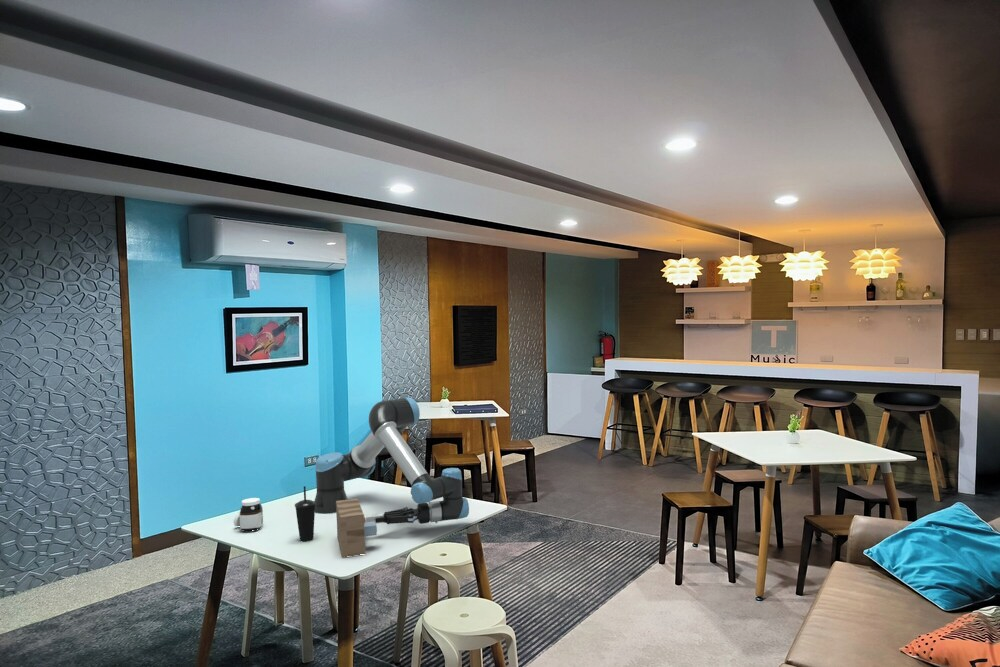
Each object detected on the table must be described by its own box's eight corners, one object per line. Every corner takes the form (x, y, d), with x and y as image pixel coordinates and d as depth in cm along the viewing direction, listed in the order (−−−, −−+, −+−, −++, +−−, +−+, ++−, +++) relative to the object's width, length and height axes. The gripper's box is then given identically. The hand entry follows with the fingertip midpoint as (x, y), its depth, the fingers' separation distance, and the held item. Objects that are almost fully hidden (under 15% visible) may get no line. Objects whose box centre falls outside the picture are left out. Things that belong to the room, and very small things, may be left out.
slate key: (358, 533, 228) (357, 523, 228) (375, 530, 230) (375, 521, 230) (359, 537, 224) (359, 527, 224) (377, 535, 226) (377, 525, 225)
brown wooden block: (337, 538, 240) (335, 501, 240) (359, 535, 242) (357, 498, 242) (341, 557, 219) (339, 517, 219) (365, 554, 221) (363, 514, 221)
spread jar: (257, 532, 250) (256, 503, 250) (228, 534, 249) (227, 504, 249) (267, 523, 262) (265, 495, 262) (238, 524, 261) (237, 496, 261)
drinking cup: (297, 544, 234) (294, 490, 234) (294, 538, 241) (292, 485, 241) (318, 541, 237) (316, 487, 237) (315, 535, 244) (313, 483, 244)
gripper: (432, 527, 239) (368, 535, 231) (425, 517, 251) (364, 525, 244) (431, 507, 239) (367, 515, 231) (424, 498, 251) (363, 505, 244)
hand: (366, 520), depth 238 cm, fingers closed
